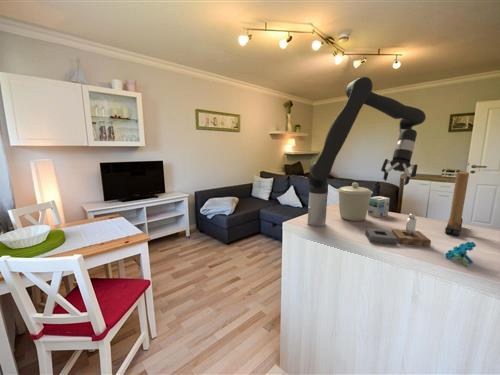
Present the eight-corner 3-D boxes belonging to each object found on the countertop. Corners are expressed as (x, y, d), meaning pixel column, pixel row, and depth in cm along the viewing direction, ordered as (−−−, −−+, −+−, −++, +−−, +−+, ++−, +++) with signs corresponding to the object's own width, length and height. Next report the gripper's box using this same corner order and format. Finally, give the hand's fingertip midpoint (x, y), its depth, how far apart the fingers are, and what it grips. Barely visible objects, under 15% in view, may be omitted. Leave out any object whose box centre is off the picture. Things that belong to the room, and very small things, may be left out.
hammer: (458, 241, 102) (468, 179, 93) (443, 238, 105) (452, 178, 96) (462, 224, 115) (472, 167, 106) (449, 221, 118) (457, 167, 109)
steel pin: (406, 241, 97) (409, 215, 95) (403, 238, 100) (406, 213, 98) (414, 242, 96) (418, 215, 94) (411, 239, 99) (415, 213, 97)
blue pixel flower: (447, 247, 87) (475, 236, 80) (459, 260, 85) (489, 251, 78) (439, 259, 81) (468, 249, 74) (452, 274, 79) (484, 265, 71)
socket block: (370, 242, 96) (370, 236, 95) (365, 234, 105) (365, 228, 105) (396, 245, 93) (397, 238, 92) (388, 236, 102) (389, 230, 102)
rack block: (399, 244, 94) (400, 237, 93) (390, 234, 104) (391, 228, 104) (429, 247, 91) (430, 240, 90) (418, 237, 101) (418, 231, 101)
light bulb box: (377, 217, 130) (379, 199, 128) (366, 214, 136) (368, 197, 134) (388, 215, 135) (390, 197, 133) (377, 212, 141) (379, 195, 139)
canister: (376, 223, 119) (380, 185, 116) (342, 223, 120) (345, 185, 116) (360, 214, 137) (363, 180, 133) (331, 213, 137) (333, 180, 134)
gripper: (389, 146, 108) (380, 177, 108) (423, 151, 103) (414, 185, 102) (385, 150, 115) (377, 180, 115) (418, 155, 110) (409, 187, 109)
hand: (395, 182), depth 108 cm, fingers open, 8 cm apart
